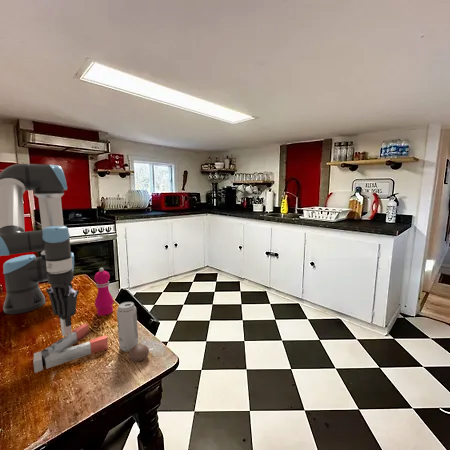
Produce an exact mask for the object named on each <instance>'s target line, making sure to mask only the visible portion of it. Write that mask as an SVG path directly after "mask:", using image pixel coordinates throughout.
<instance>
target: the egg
mask: <svg viewBox="0 0 450 450" xmlns="http://www.w3.org/2000/svg"><path fill="white" fill-rule="evenodd" d="M149 353H150V350H149V347H148V346H147V345H145V344H138V345H136V346H134V347H133V348H132V349H131V350H130V351H128V357H129V359H130V360H131V361H132V362H141V361H143V360H145V359H146V358H147V357H148V356H149Z"/></svg>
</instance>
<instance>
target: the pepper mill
mask: <svg viewBox="0 0 450 450" xmlns="http://www.w3.org/2000/svg"><path fill="white" fill-rule="evenodd" d="M93 277H94V281H95V285H96V286H95V287H96V288H97V295H96V298H95V301H94V305H95V308H97V309H96V314H97V315H98V316H106V315H109V314H111V313H113V311H114V308H113V305H114V298H113V296H112V294H111V292H110V290H109V285H110V281H109V280H110V278H111V275H110V273H109V271H106V270H105V269H104V267H100V268H99V270H98V272H96V273H95V275H94V276H93Z"/></svg>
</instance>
